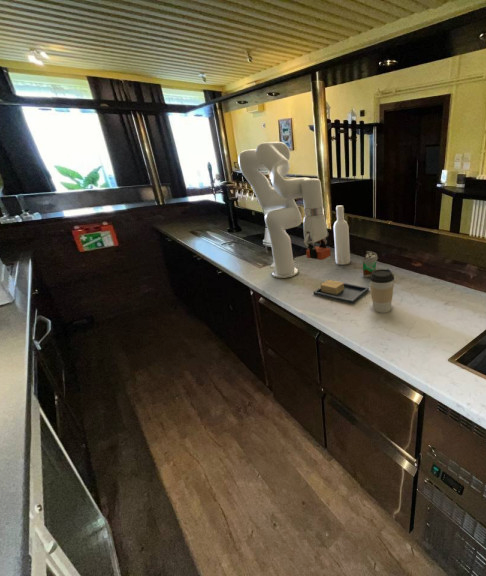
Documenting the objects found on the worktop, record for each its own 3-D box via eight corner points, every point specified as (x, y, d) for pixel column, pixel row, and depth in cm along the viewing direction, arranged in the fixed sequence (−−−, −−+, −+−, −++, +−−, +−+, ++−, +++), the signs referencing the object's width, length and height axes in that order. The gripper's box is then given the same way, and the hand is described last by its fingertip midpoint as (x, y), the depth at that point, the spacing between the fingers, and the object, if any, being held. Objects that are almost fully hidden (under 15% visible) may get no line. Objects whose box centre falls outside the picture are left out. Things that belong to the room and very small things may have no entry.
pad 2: (321, 291, 130) (320, 284, 129) (328, 286, 134) (328, 279, 133) (336, 295, 126) (335, 288, 125) (344, 289, 131) (343, 282, 129)
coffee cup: (378, 316, 110) (377, 278, 103) (365, 306, 117) (364, 270, 111) (398, 309, 113) (399, 272, 107) (385, 300, 121) (385, 265, 114)
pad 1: (306, 257, 125) (305, 250, 124) (315, 253, 130) (314, 246, 129) (322, 260, 122) (321, 252, 120) (330, 255, 126) (330, 248, 125)
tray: (313, 295, 128) (313, 291, 127) (331, 283, 138) (331, 280, 137) (352, 304, 118) (352, 301, 118) (368, 291, 129) (368, 287, 128)
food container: (376, 279, 140) (375, 259, 136) (363, 279, 141) (362, 259, 137) (379, 270, 151) (379, 250, 146) (367, 269, 152) (366, 250, 148)
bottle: (333, 264, 161) (329, 207, 149) (339, 259, 168) (335, 204, 155) (347, 265, 159) (343, 207, 146) (352, 260, 165) (350, 204, 152)
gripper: (319, 207, 127) (323, 249, 134) (292, 215, 114) (298, 261, 121) (334, 208, 123) (337, 250, 130) (307, 216, 110) (313, 263, 117)
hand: (318, 255), depth 126 cm, fingers closed on pad 1, 6 cm apart
